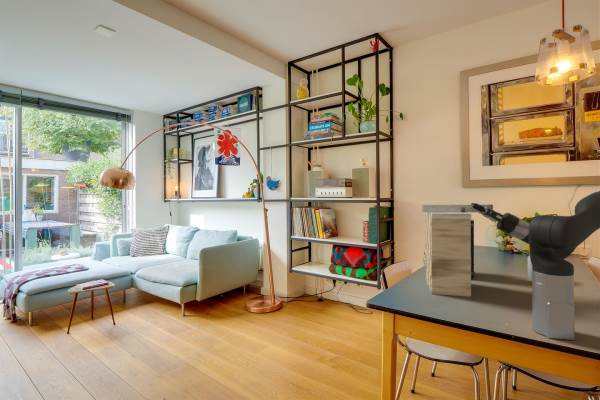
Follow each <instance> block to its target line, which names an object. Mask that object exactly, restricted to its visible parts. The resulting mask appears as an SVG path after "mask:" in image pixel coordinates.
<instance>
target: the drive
mask: <svg viewBox="0 0 600 400" xmlns="http://www.w3.org/2000/svg"><path fill="white" fill-rule="evenodd" d="M480 205H481V206H483V207H484V208H485V207H486V208H488V209H492V210H494V205H493V204H480ZM462 207H464V208H465V212H466V213H478V212H480V211H478V210H476V209H474V208H473V205H471V204H422V213H425V212H462Z"/></svg>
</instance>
